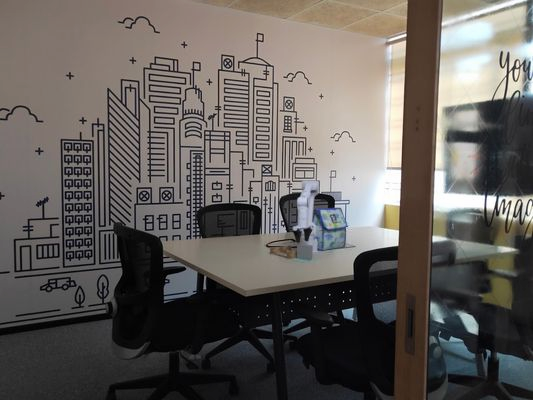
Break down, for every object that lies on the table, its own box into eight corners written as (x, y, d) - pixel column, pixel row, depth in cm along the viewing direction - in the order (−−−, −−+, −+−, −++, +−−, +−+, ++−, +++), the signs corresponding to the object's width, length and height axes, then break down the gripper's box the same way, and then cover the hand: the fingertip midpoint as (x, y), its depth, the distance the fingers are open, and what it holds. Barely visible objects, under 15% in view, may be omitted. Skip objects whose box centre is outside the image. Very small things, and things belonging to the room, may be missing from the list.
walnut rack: (290, 251, 271) (290, 245, 270) (308, 256, 258) (308, 249, 258) (270, 254, 261) (270, 247, 260) (288, 259, 248) (288, 252, 248)
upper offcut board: (291, 252, 267) (291, 250, 267) (302, 254, 259) (302, 252, 259) (286, 252, 265) (286, 250, 265) (297, 255, 257) (297, 253, 257)
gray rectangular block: (300, 257, 252) (300, 243, 251) (312, 259, 247) (312, 245, 246) (296, 258, 249) (297, 244, 248) (308, 260, 244) (309, 246, 243)
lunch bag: (325, 252, 272) (326, 210, 270) (306, 247, 285) (307, 207, 283) (348, 248, 286) (350, 208, 284) (329, 244, 299) (330, 206, 297)
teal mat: (307, 257, 255) (307, 256, 255) (318, 260, 248) (318, 259, 248) (291, 260, 247) (291, 259, 247) (302, 263, 240) (302, 262, 240)
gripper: (305, 216, 257) (304, 239, 258) (289, 218, 246) (288, 242, 247) (315, 217, 252) (314, 241, 253) (298, 219, 241) (298, 244, 242)
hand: (302, 241), depth 250 cm, fingers open, 7 cm apart
